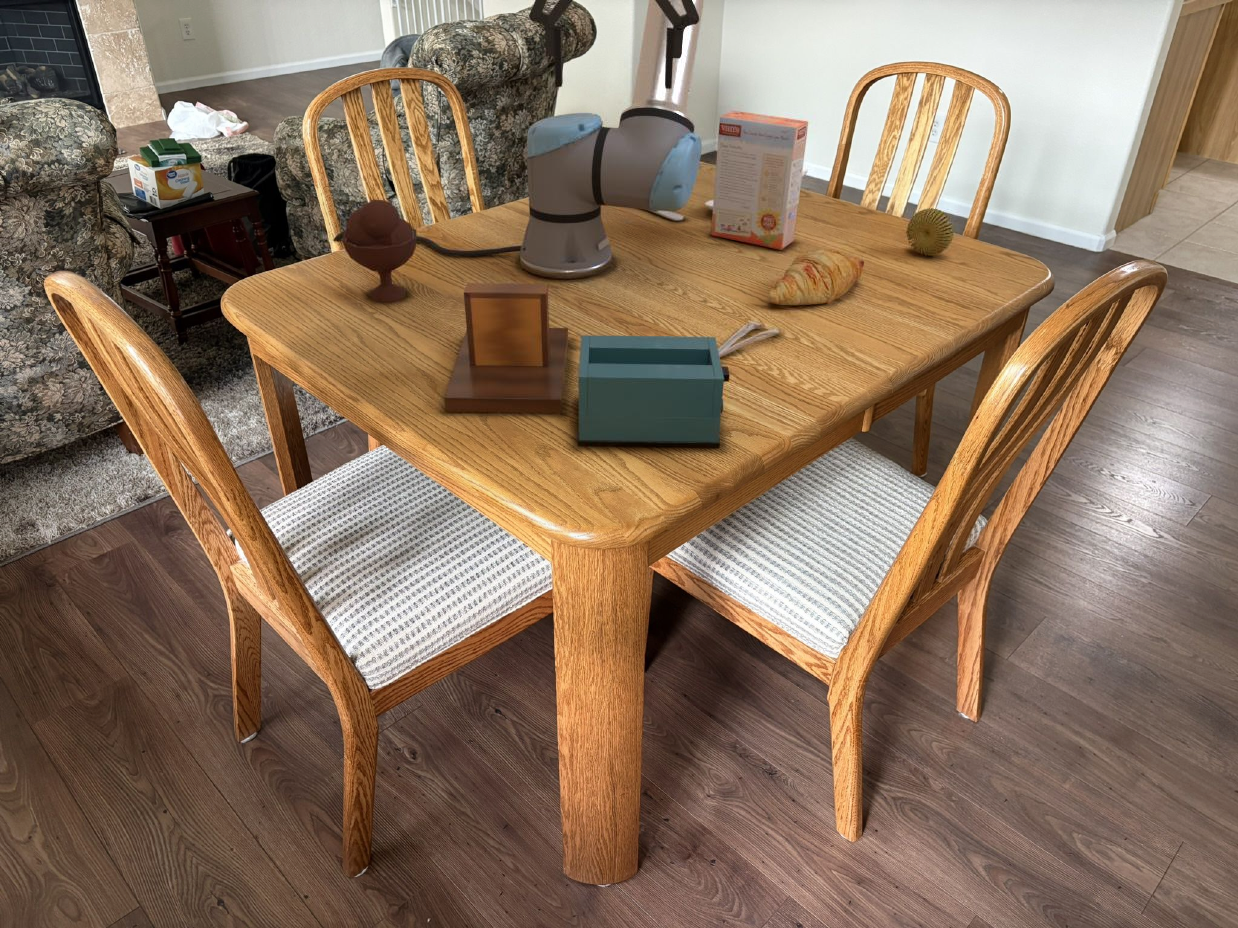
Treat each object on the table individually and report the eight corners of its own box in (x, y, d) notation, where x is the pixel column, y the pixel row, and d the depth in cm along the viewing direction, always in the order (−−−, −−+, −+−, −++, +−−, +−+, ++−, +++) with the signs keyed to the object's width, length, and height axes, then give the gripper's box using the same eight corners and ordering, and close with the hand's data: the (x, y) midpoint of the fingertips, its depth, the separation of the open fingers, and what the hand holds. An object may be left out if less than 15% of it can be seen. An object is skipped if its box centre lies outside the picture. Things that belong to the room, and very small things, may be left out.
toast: (469, 365, 116) (463, 292, 110) (472, 354, 118) (466, 282, 113) (548, 366, 116) (546, 293, 110) (550, 355, 118) (547, 283, 113)
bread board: (560, 413, 110) (560, 399, 109) (445, 412, 110) (444, 397, 109) (569, 328, 130) (569, 315, 129) (472, 327, 130) (471, 314, 129)
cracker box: (794, 242, 161) (810, 120, 150) (781, 252, 157) (796, 127, 145) (724, 226, 167) (734, 108, 156) (709, 236, 163) (718, 115, 152)
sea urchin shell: (951, 257, 156) (962, 212, 152) (941, 263, 154) (951, 217, 149) (909, 246, 160) (918, 201, 156) (898, 251, 158) (907, 206, 154)
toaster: (577, 446, 104) (576, 377, 99) (580, 400, 113) (579, 334, 108) (728, 448, 104) (735, 379, 99) (719, 401, 113) (725, 336, 108)
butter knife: (675, 220, 168) (686, 216, 170) (588, 190, 182) (598, 187, 184) (675, 222, 169) (686, 218, 170) (588, 192, 183) (598, 190, 184)
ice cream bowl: (437, 288, 141) (428, 193, 133) (394, 315, 133) (380, 214, 124) (382, 276, 145) (369, 182, 136) (336, 301, 136) (319, 203, 128)
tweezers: (754, 326, 131) (755, 314, 130) (781, 337, 129) (782, 324, 128) (677, 373, 121) (677, 361, 120) (704, 386, 119) (705, 373, 118)
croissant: (781, 336, 137) (805, 300, 130) (740, 288, 140) (762, 252, 133) (867, 298, 148) (894, 264, 142) (828, 255, 151) (853, 220, 144)
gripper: (500, -118, 98) (510, 90, 109) (730, -114, 98) (715, 93, 110) (507, -119, 104) (516, 78, 116) (724, -115, 104) (710, 81, 116)
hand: (613, 86), depth 113 cm, fingers open, 13 cm apart
